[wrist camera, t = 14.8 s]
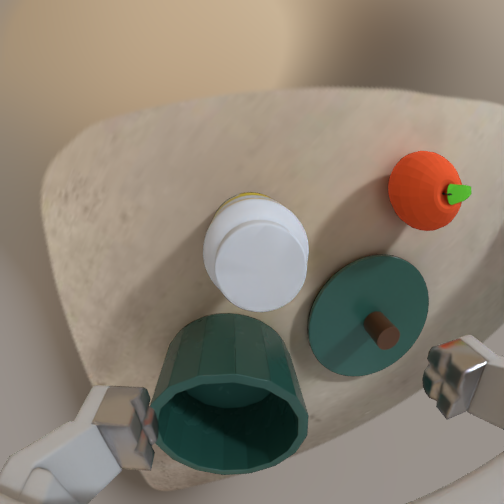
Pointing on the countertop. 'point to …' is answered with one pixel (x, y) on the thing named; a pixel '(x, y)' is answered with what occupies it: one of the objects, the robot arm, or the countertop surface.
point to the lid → (368, 315)
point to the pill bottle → (256, 252)
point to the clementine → (426, 190)
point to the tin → (229, 397)
